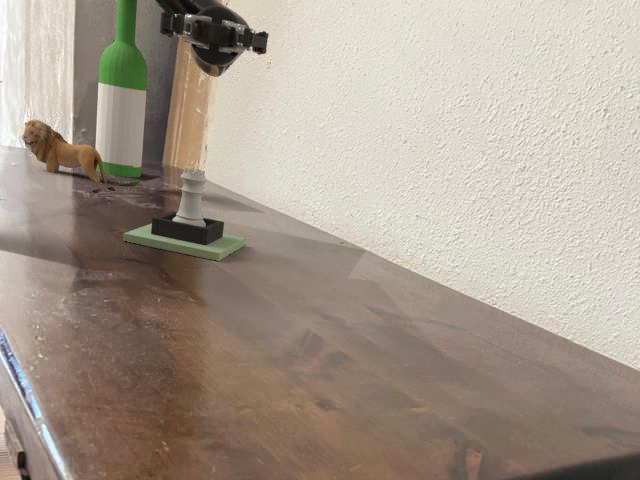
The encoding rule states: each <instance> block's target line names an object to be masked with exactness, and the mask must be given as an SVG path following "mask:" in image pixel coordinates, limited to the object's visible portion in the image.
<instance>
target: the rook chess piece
mask: <svg viewBox="0 0 640 480" xmlns="http://www.w3.org/2000/svg"><path fill="white" fill-rule="evenodd" d="M205 174H206V173H205V171H204V170H202V169H196V170H195V168H188V167H184V168H183V172H182V173H181V174H180V176H179V177H180V178H181V181H182V187H181V188H180V190H181V199H180V202H179V203H180V204H179V207H178V210H177V212H178V213H176V217H175V218H173V220H172V221H176V222H181V223H186V224H191V225H195V226H200V227H203V228H204V227H206V223H205V222H204V221H203V218H205V216H203V212H202V211H203V209H202V206H203V205H202V197H203V194H204V193H205V192H204V191H203V186H204V184H206V182H207V181H208V179H207V178H206V175H205Z"/></svg>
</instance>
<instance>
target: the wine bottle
mask: <svg viewBox="0 0 640 480" xmlns="http://www.w3.org/2000/svg"><path fill="white" fill-rule="evenodd" d="M137 7H138V0H117V10H116V30H115V38H114V39H115V40H114V41H113V43H111V44H109V45H108V46H107V47H106V48H105V49H104V51H103V52H102V54H101V56H100V59H99V68H98V86H97V104H96V105H97V108H96V127H95V128H96V129H95V147H94V148H95V149H96V150H97V152H98V153H99V155H100V157H101V160H102V163H103V168H104V173H105V175H109V176H115V177H123V178H125V177H126V178H140V177H141V175H142V165H143V164H142V163H143V148H144V147H143V146H144V132H145V120H146V119H145V117H146V106H147V105H146V103H147V87H148V86H147V85H148V66H147V61H146V59H145V57H144V55H143V53H142V52H141V50H139V48H138V47H137V45H136V31H137V30H136V28H137V12H138V11H137V9H138V8H137ZM96 172H98V173H101V171H100V168H99V164H98V165H97V169H96ZM139 184H140V180H139V181H133V182H127V183H123V184H119V185H117V186H119V187H136V186H138V185H139Z"/></svg>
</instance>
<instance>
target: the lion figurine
mask: <svg viewBox="0 0 640 480" xmlns="http://www.w3.org/2000/svg"><path fill="white" fill-rule="evenodd" d="M23 130H24V131H23V134H22V135H21V136H22V137H21V139H22V141H23V142H24V143H23V144H24V146H25V147H26V148H27V150H28V151H30V152H31V153H32V154H33V155H34V156H35V158H36V160H37V161H39V162H40V163H42V164H45V167H46V171H47V173H52V174H55V172H59V170H60V166H61V167H64V168H67V169H75V168H80V167H81V168H82V171H83V172H84V173H85V175H86V176H87V177H88V178H89V179H90V180H91V181H92V182H94V183H98V184H99V183H101V178H102V182H103V183H104V184H105V183H108V181H107V178H106V174H105V173H104V168H103V163H102V160H101V157H100V155H99V153H98V152H97V150H96V149H95V147H94V146H92V145H90V144H73V143H68V141H67V140H66V139H65V138H64V137H63V135H62V134H61V133H60V132H58V131H56V130H55V129H53V128H52V126H50V125H48V124H47V123H45V122H44V121H42V120H40V119H30V120H27V122H26V121H25V122H24V129H23ZM98 164H99V168H100V171H101V172H100V176H101V178H100V177H99V175H98V174H97V171H96V169H97V165H98ZM107 189H108V190H109V191H110V192H116V189H115V188H114V186H109V187H107ZM101 191H102V189H101V188H99V189H98V188H97V189H93V190H91V192H92V193H93V194H99V193H101Z"/></svg>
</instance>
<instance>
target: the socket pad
mask: <svg viewBox="0 0 640 480" xmlns="http://www.w3.org/2000/svg"><path fill="white" fill-rule="evenodd" d="M176 213H178V211H174V210H172V211H169V212H166V213H163V214H159V215H156V216H153V217H152V218H151V223H149V224H146V225H143V226H140V227H138V228H135V229H132V230H129V231H126V232H123V242H125V241H127V242H126V243H130V242H131V243H130V244H134V243H135V245H139V244H140V245H139V246H144V247H149V248H152V249H153V248H154V249H159V250H164V251H167V252H173V253H177V254H182V255H187V256H191V257H192V256H193V257H196V258H202V259H206V260H210V259H211V261H215V260H216V262H220V261H221V260H223V259H225V258H227V257H228V256H230V255H231V254H233V253H235V252H236V251H238V250H240V249H242V248H243V247H245V245H246V238H245V237H241V236H236V235H231V234H228V233H227V234H226V233H224V227H225V222H224V221H222V220H217V219H212V218H207V217H204V218H203V221H204V222H205V223H206V227H204V228H203V227H200V226H195V225H191V224H186V223H181V222H176V221H172V220H173V218H175V217H176ZM234 251H235V252H234ZM229 254H230V255H229Z"/></svg>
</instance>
